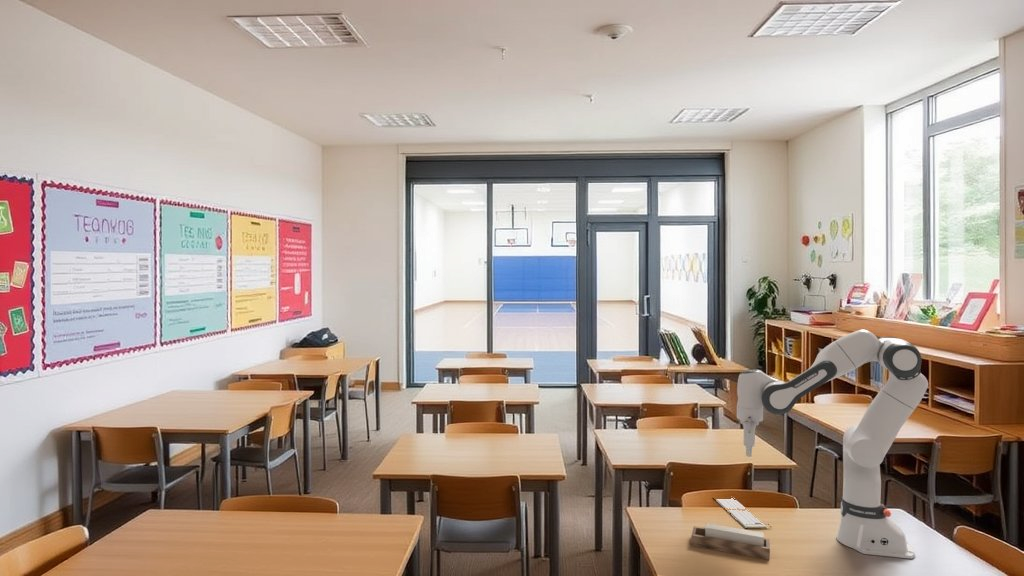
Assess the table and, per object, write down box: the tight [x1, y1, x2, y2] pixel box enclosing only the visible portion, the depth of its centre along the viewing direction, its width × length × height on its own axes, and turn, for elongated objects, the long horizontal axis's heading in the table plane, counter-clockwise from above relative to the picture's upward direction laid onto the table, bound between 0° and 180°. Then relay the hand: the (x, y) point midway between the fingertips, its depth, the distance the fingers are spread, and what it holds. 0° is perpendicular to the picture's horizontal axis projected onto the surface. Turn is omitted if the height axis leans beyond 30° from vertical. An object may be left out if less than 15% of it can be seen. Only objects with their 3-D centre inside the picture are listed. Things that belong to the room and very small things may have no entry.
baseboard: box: [715, 497, 772, 529], centre depth 227 cm, size 30×3×10 cm
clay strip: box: [704, 523, 765, 547], centre depth 196 cm, size 18×4×4 cm, turn 68°
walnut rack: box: [690, 525, 771, 561], centre depth 196 cm, size 24×8×4 cm, turn 68°
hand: (748, 452), depth 213 cm, fingers open, 8 cm apart
